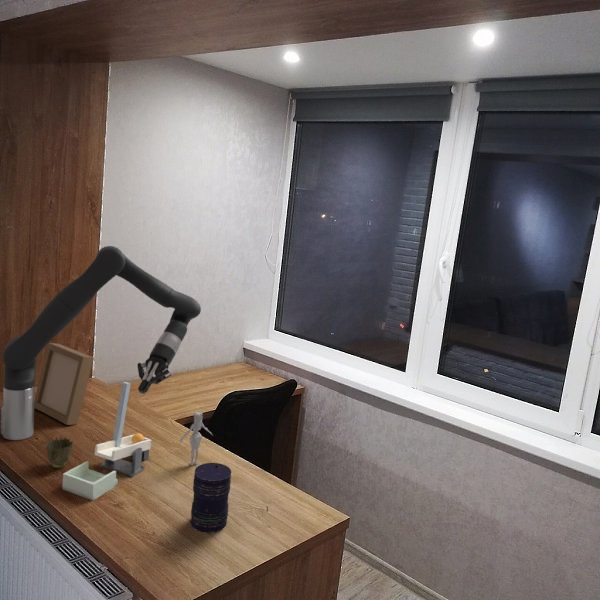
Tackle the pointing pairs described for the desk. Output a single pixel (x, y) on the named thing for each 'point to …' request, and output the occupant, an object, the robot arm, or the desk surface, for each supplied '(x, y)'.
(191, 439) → the human figurine
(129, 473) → the stand
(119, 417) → the lever
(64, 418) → the photo frame
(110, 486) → the tray
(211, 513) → the dark blue ridged cylinder
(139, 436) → the ball
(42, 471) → the desk surface
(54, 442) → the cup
